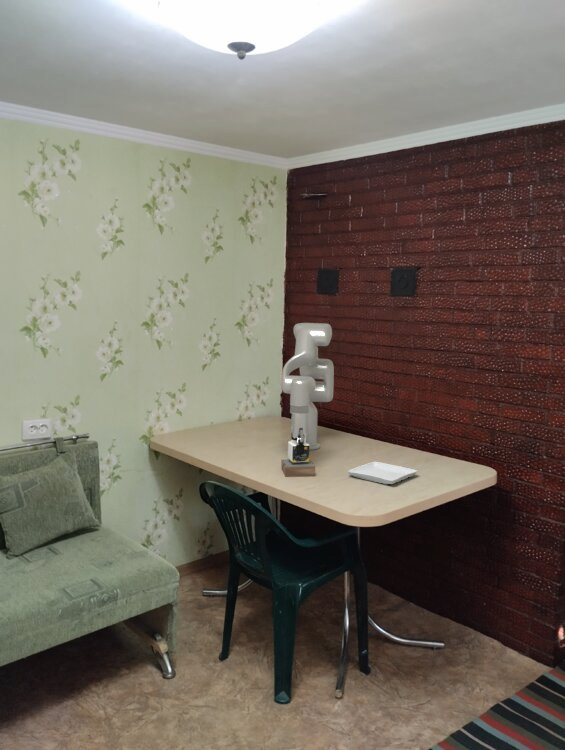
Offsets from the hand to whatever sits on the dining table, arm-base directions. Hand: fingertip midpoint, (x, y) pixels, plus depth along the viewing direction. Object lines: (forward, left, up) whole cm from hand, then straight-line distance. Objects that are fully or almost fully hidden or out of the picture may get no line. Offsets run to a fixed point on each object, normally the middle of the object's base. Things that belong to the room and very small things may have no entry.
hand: (298, 451), depth 260 cm
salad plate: (+9, +33, -9) cm, 35 cm away
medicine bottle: (0, 0, -4) cm, 4 cm away
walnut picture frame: (0, 0, -9) cm, 9 cm away
